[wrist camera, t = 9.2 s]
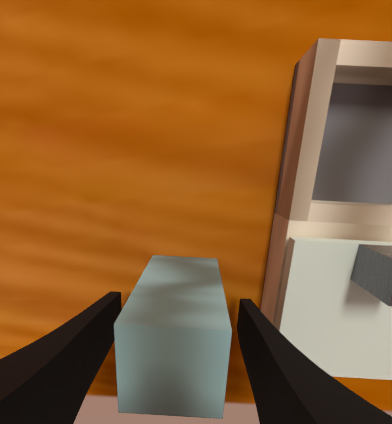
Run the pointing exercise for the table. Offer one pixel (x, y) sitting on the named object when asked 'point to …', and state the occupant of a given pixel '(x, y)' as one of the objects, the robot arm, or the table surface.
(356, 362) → the sliding cover
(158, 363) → the teal block
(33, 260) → the table surface
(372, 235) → the sliding lid box
